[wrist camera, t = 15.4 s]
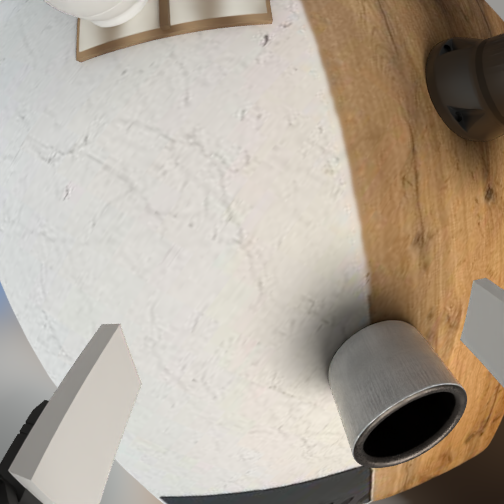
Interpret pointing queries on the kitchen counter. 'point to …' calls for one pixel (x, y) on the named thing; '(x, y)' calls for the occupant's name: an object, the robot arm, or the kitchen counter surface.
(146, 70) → the kitchen counter surface
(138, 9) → the jar
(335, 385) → the planter
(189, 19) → the tag board
